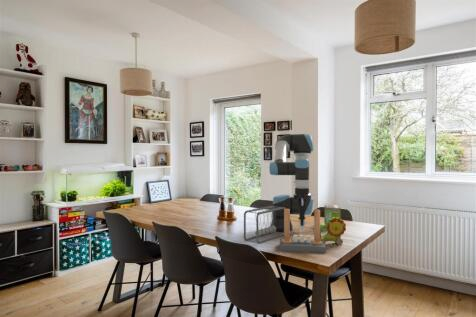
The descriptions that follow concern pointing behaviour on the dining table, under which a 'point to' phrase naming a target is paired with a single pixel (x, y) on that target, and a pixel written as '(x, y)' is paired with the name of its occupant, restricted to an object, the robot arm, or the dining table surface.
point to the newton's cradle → (265, 230)
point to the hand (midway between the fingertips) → (301, 231)
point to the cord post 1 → (287, 227)
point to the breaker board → (302, 247)
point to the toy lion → (333, 230)
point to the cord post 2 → (317, 228)
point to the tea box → (331, 212)
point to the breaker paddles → (302, 239)
